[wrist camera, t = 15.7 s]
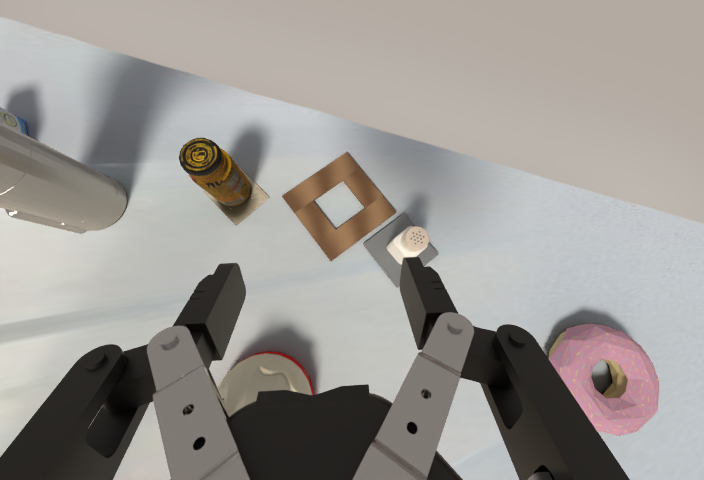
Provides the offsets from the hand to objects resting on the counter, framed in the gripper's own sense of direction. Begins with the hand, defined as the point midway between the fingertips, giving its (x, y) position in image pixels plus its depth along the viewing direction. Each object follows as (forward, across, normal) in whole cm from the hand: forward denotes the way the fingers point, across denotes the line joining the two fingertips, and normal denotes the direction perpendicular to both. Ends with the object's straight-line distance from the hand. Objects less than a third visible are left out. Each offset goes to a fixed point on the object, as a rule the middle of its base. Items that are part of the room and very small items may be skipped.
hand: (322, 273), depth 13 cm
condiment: (+34, +16, +10) cm, 39 cm away
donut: (+12, -40, +32) cm, 53 cm away
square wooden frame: (+32, -1, +12) cm, 34 cm away
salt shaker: (+26, -11, +17) cm, 33 cm away
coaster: (+26, -11, +17) cm, 33 cm away
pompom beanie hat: (+11, +10, +33) cm, 36 cm away
